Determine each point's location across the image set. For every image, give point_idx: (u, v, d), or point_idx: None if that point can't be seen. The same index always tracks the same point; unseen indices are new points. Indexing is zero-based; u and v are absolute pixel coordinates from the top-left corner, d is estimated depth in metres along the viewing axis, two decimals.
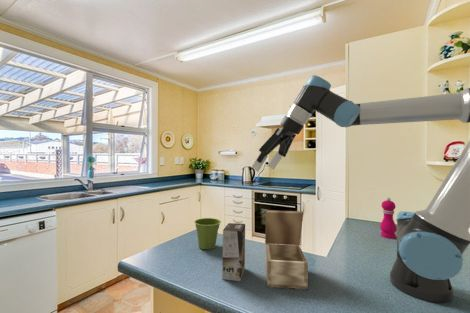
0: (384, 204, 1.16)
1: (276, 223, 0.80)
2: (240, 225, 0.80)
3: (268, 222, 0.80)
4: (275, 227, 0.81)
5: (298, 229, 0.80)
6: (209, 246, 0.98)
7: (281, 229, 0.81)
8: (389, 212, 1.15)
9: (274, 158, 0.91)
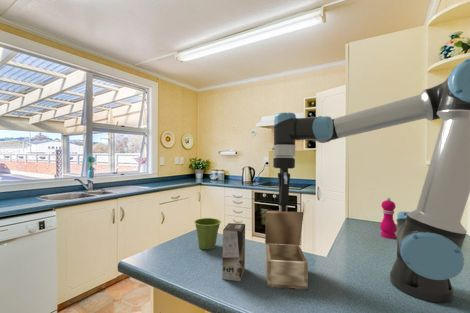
0: (384, 204, 1.16)
1: (276, 223, 0.80)
2: (240, 225, 0.80)
3: (268, 222, 0.80)
4: (275, 227, 0.81)
5: (298, 229, 0.80)
6: (209, 246, 0.98)
7: (281, 229, 0.81)
8: (389, 212, 1.15)
9: None
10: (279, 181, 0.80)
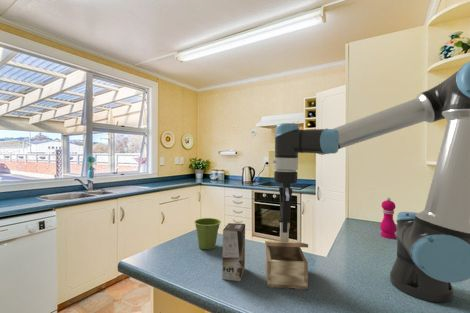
0: (384, 204, 1.16)
1: None
2: (240, 225, 0.80)
3: None
4: None
5: None
6: (209, 246, 0.98)
7: None
8: (389, 212, 1.15)
9: None
10: (280, 197, 0.74)
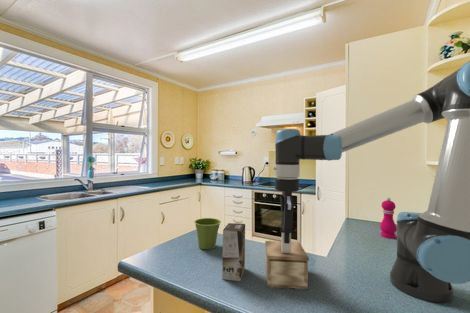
0: (384, 204, 1.16)
1: None
2: (240, 225, 0.80)
3: None
4: None
5: None
6: (209, 246, 0.98)
7: None
8: (389, 212, 1.15)
9: None
10: (282, 205, 0.71)
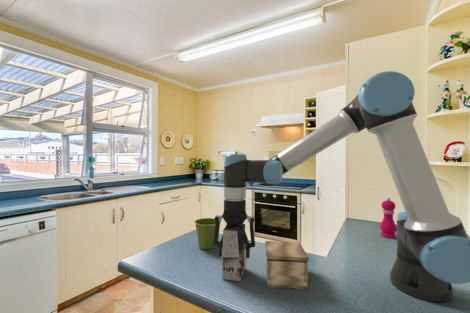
0: (384, 204, 1.16)
1: None
2: None
3: None
4: None
5: None
6: (209, 246, 0.98)
7: None
8: (389, 212, 1.15)
9: None
10: None
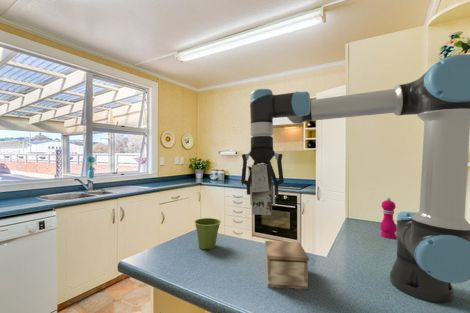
0: (384, 204, 1.16)
1: None
2: None
3: None
4: None
5: None
6: (209, 246, 0.98)
7: None
8: (389, 212, 1.15)
9: None
10: None
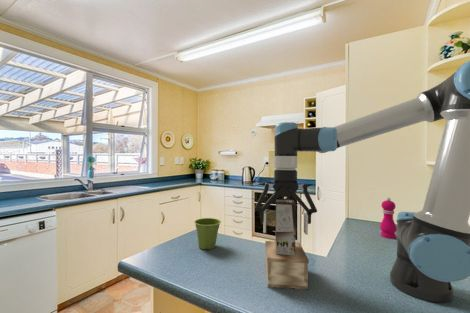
0: (384, 204, 1.16)
1: None
2: (290, 200, 0.78)
3: None
4: None
5: None
6: (209, 246, 0.98)
7: None
8: (389, 212, 1.15)
9: (304, 220, 0.77)
10: (275, 190, 0.79)
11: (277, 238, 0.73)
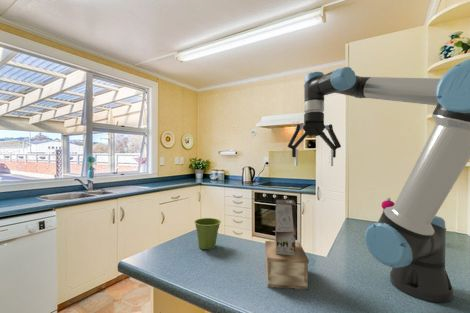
0: (384, 204, 1.16)
1: None
2: (290, 200, 0.78)
3: None
4: None
5: None
6: (209, 246, 0.98)
7: None
8: None
9: (329, 155, 0.92)
10: None
11: (277, 238, 0.73)
